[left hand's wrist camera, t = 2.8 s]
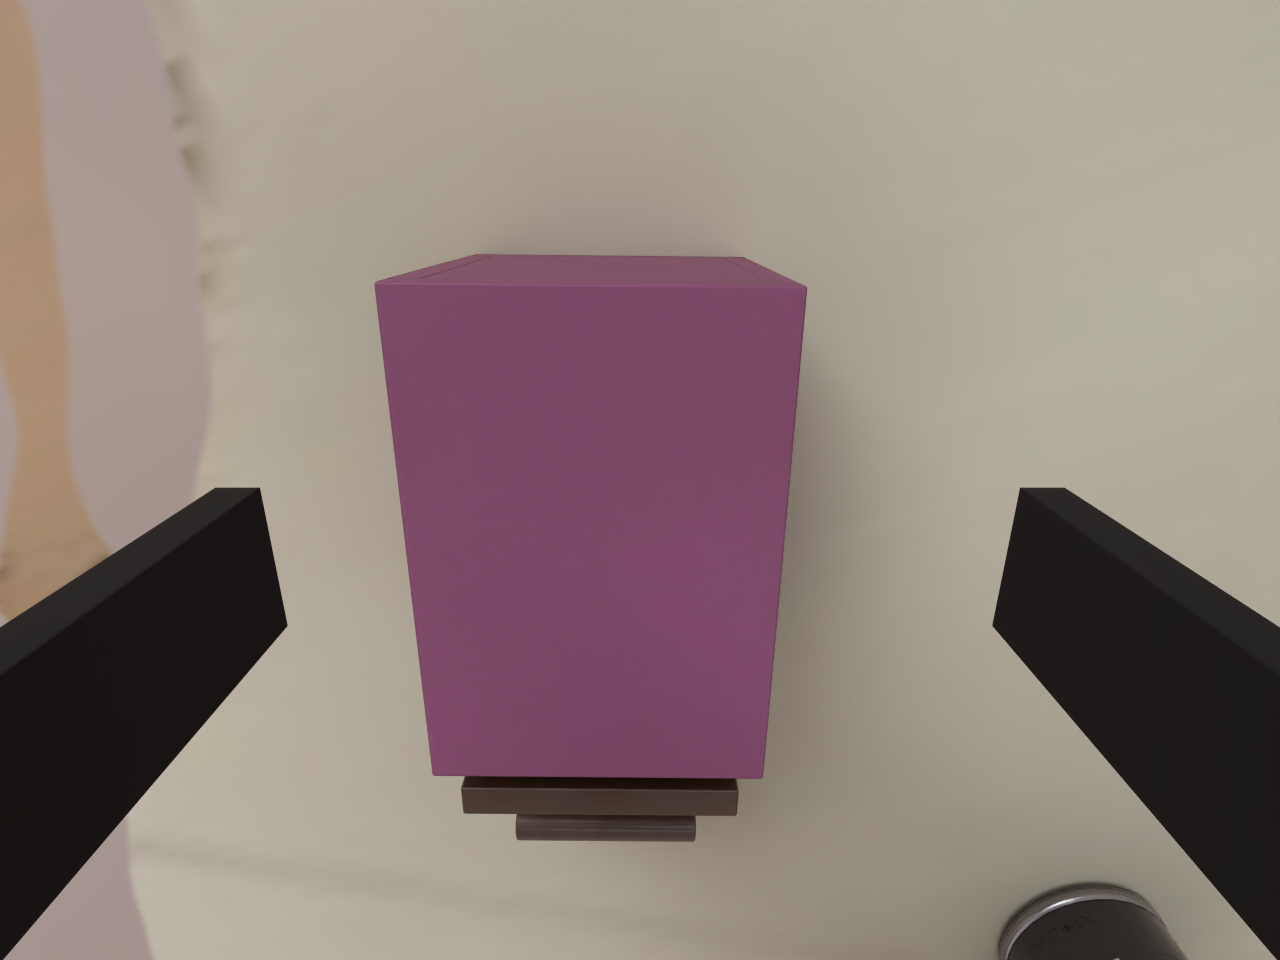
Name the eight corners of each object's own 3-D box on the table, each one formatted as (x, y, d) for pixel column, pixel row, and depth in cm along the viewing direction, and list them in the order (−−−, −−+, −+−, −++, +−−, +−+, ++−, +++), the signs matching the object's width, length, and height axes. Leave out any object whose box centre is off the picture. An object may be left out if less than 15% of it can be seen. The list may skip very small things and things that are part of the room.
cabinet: (724, 599, 35) (762, 779, 24) (498, 597, 35) (432, 776, 24) (744, 257, 29) (808, 286, 18) (474, 254, 29) (373, 281, 18)
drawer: (706, 747, 37) (728, 927, 27) (516, 746, 37) (474, 925, 27) (728, 354, 29) (767, 420, 20) (490, 352, 29) (422, 416, 20)
